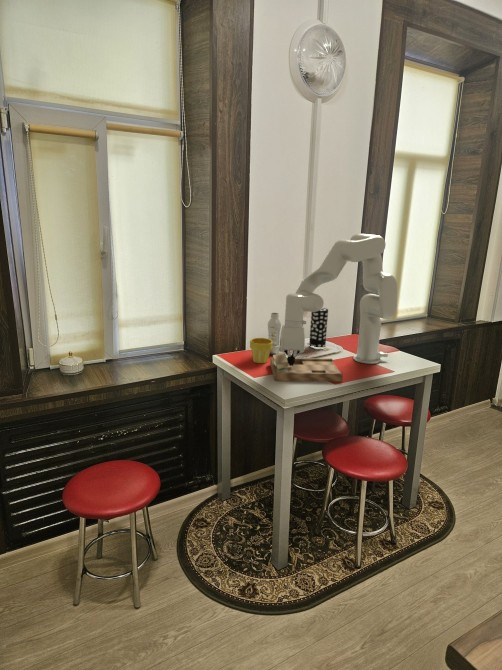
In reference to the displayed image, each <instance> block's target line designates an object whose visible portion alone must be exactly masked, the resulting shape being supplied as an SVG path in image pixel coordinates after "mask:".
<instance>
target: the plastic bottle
mask: <svg viewBox="0 0 502 670" xmlns="http://www.w3.org/2000/svg"><path fill="white" fill-rule="evenodd" d="M279 315H280V314H279V313H278V312H271V313H270V319H269V320H268V322H267V331H268V334H267V335H268V336H267V337H268V338H267V339H270V340H272V342H273V344H272V349H271V350H270V354H269V355H275V354H276V353H280V351H279V349H280V336H281V329H282V323H281V321H280V319H279Z"/></svg>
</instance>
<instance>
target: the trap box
mask: <svg viewBox="0 0 502 670" xmlns="http://www.w3.org/2000/svg"><path fill="white" fill-rule="evenodd" d="M286 358H287V359H288V357H286ZM269 364H270V369H271V371H272V372H271V373H272V375H273V379H274V381H275V382H343V376H344V374H343V372H341V371H340V370H339V368H338V367H337V365H336V364H335V363H334V360H333V358H329V357H328V358H325V357H324V358H320V357H319V358H318V357H315V358H311V357H309V358H307V357H306V358H303V357H301V358H299V357H297V358H296V357H295V363H293V366H288V367H284V368H281V369H277V367H276V364H275V361H274V357H270V363H269ZM288 364H289V363H288Z"/></svg>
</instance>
